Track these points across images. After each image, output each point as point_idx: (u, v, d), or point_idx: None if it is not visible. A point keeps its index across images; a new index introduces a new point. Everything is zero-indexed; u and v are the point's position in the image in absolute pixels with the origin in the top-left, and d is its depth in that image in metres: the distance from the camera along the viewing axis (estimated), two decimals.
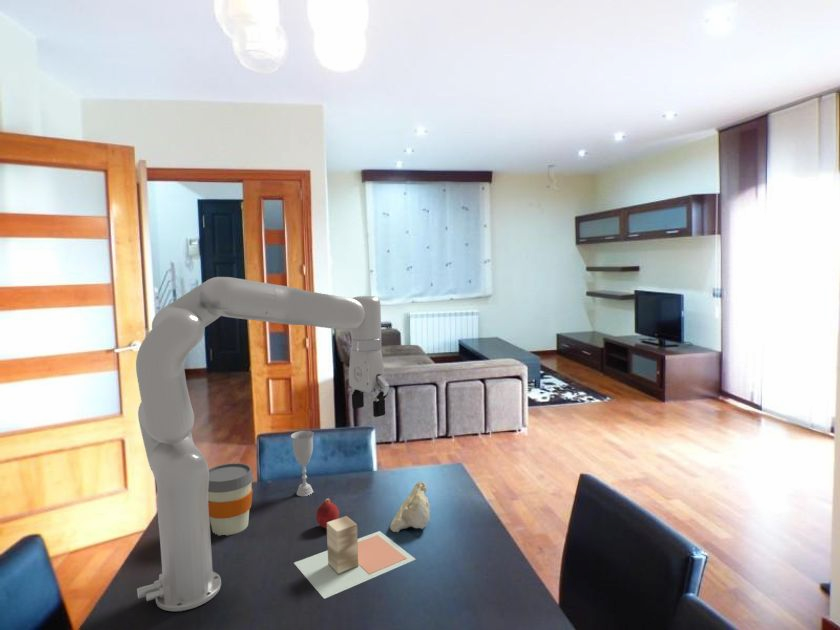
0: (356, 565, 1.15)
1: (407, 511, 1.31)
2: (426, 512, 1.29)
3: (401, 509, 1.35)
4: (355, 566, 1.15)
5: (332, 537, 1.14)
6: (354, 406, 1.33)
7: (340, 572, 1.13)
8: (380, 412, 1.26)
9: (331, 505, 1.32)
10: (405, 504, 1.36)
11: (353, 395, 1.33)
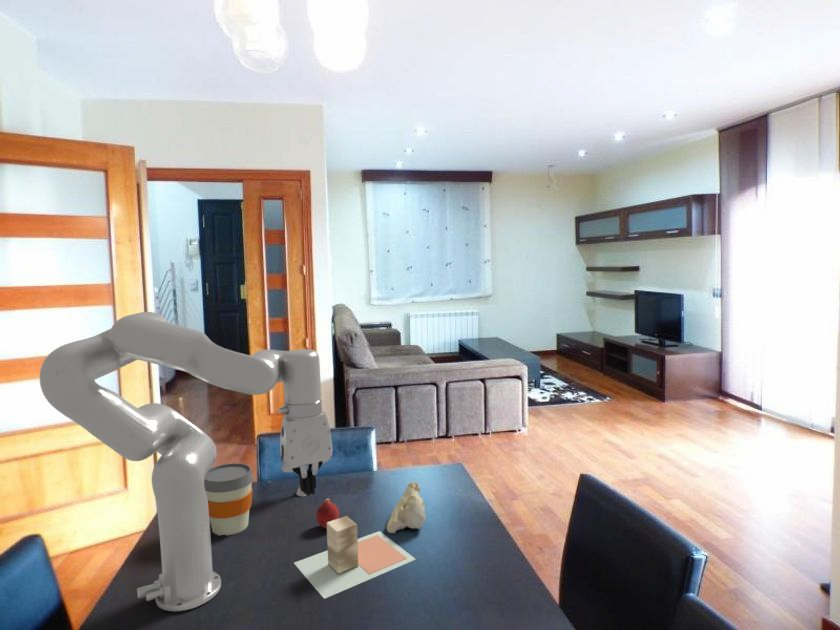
0: (356, 565, 1.15)
1: (403, 512, 1.30)
2: (423, 512, 1.30)
3: (396, 510, 1.34)
4: (355, 566, 1.15)
5: (332, 537, 1.14)
6: (310, 491, 1.08)
7: (340, 572, 1.13)
8: None
9: (331, 505, 1.32)
10: (400, 505, 1.35)
11: (308, 479, 1.08)
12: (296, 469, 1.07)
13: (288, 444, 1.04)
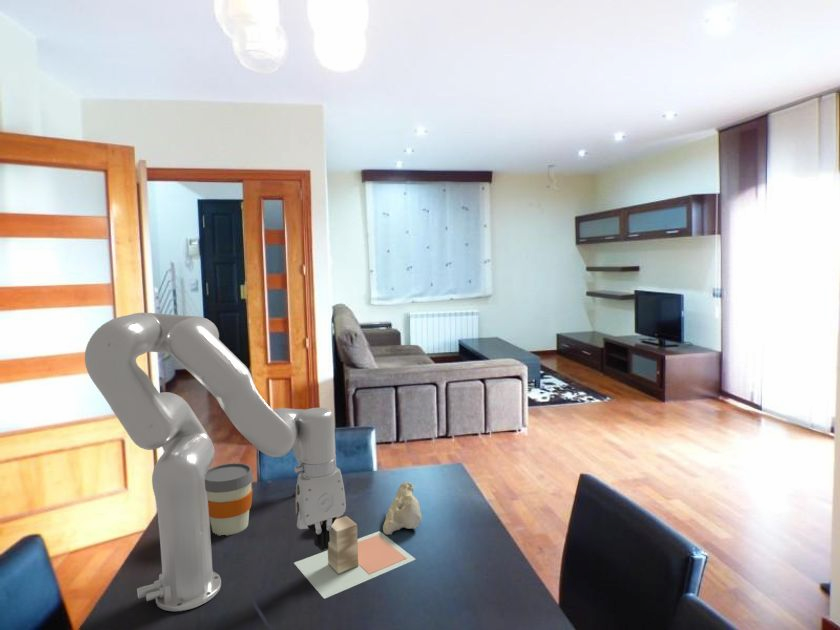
0: (356, 565, 1.15)
1: (400, 512, 1.30)
2: (419, 512, 1.30)
3: (391, 511, 1.34)
4: (355, 566, 1.15)
5: (332, 537, 1.14)
6: (324, 546, 1.11)
7: (340, 572, 1.13)
8: None
9: None
10: (395, 506, 1.35)
11: (323, 534, 1.11)
12: (311, 525, 1.10)
13: (303, 503, 1.07)
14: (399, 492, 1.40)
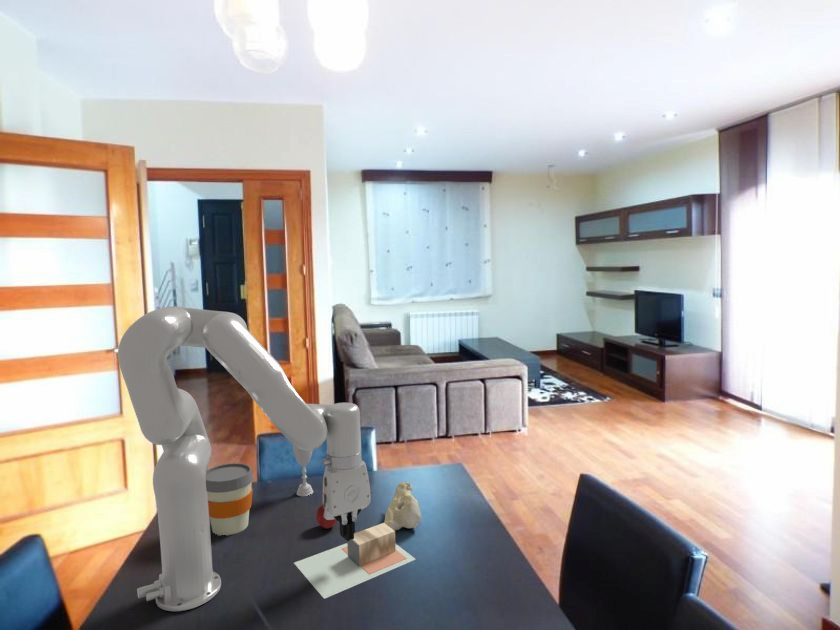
0: (360, 563, 1.16)
1: (399, 512, 1.30)
2: (419, 511, 1.30)
3: (390, 511, 1.34)
4: (359, 562, 1.16)
5: (381, 530, 1.21)
6: (349, 537, 1.15)
7: (359, 547, 1.15)
8: None
9: None
10: (394, 506, 1.35)
11: (348, 525, 1.14)
12: (337, 516, 1.13)
13: (331, 494, 1.10)
14: (397, 492, 1.40)
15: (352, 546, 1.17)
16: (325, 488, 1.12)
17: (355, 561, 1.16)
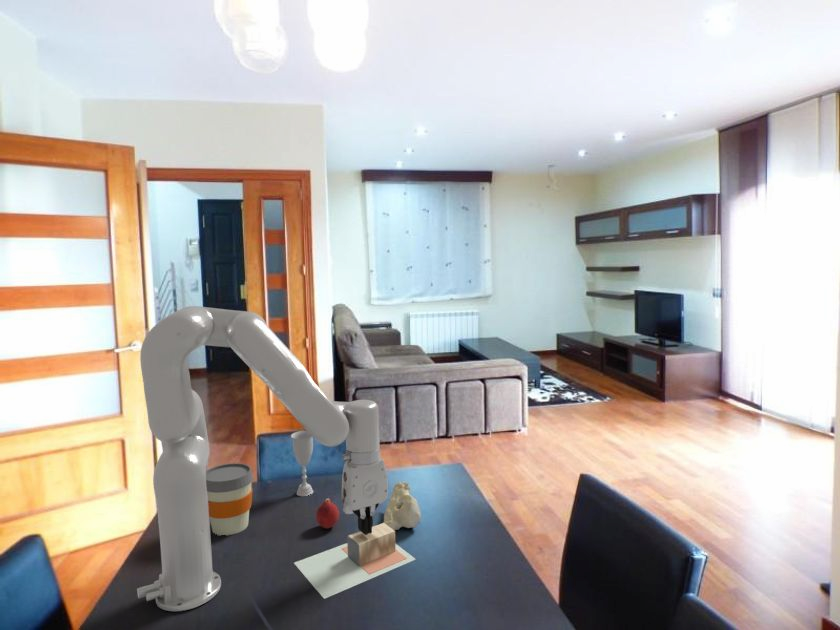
0: (360, 563, 1.16)
1: (399, 512, 1.30)
2: (419, 510, 1.30)
3: (390, 511, 1.34)
4: (359, 562, 1.16)
5: (381, 530, 1.21)
6: (367, 531, 1.18)
7: (359, 547, 1.15)
8: None
9: (331, 505, 1.32)
10: (392, 506, 1.35)
11: (367, 519, 1.17)
12: (356, 511, 1.16)
13: (351, 489, 1.13)
14: (395, 492, 1.40)
15: (352, 546, 1.17)
16: (344, 483, 1.15)
17: (355, 561, 1.16)
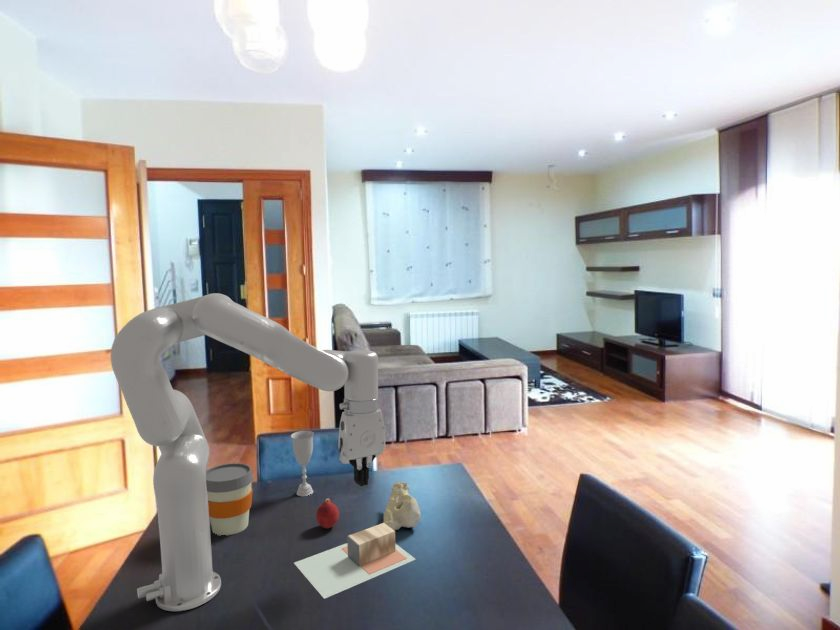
0: (360, 563, 1.16)
1: (399, 512, 1.30)
2: (419, 510, 1.31)
3: (389, 511, 1.34)
4: (359, 562, 1.16)
5: (381, 530, 1.21)
6: (363, 482, 1.16)
7: (359, 547, 1.15)
8: None
9: (331, 505, 1.32)
10: (392, 506, 1.35)
11: (363, 470, 1.16)
12: (352, 461, 1.15)
13: (348, 437, 1.12)
14: (394, 492, 1.40)
15: (352, 546, 1.17)
16: (342, 432, 1.13)
17: (355, 561, 1.16)
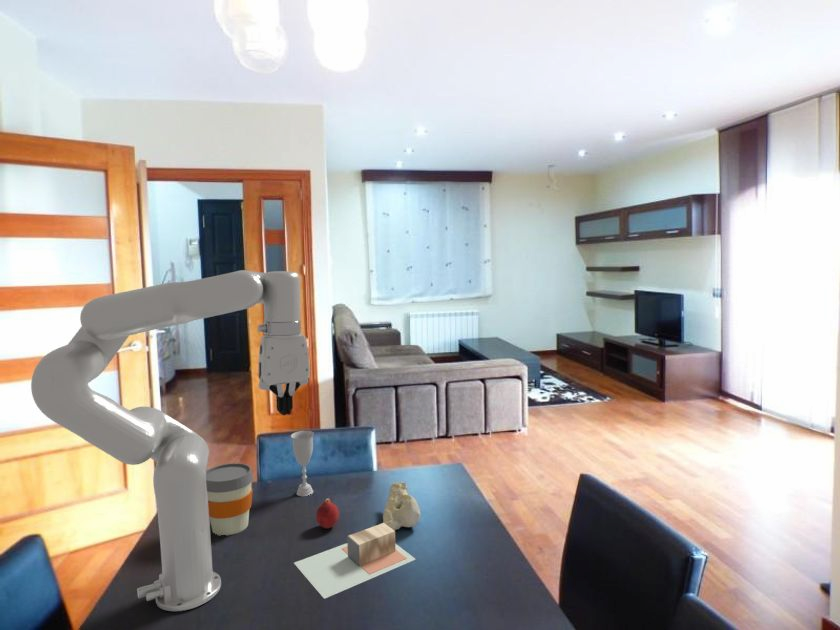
0: (360, 563, 1.16)
1: (399, 512, 1.30)
2: (419, 509, 1.31)
3: (389, 511, 1.33)
4: (359, 562, 1.16)
5: (381, 530, 1.21)
6: (286, 411, 1.10)
7: (359, 547, 1.15)
8: None
9: (331, 505, 1.32)
10: (391, 506, 1.35)
11: (285, 398, 1.10)
12: (273, 387, 1.08)
13: (265, 360, 1.05)
14: (392, 492, 1.40)
15: (352, 546, 1.17)
16: (260, 356, 1.07)
17: (355, 561, 1.16)
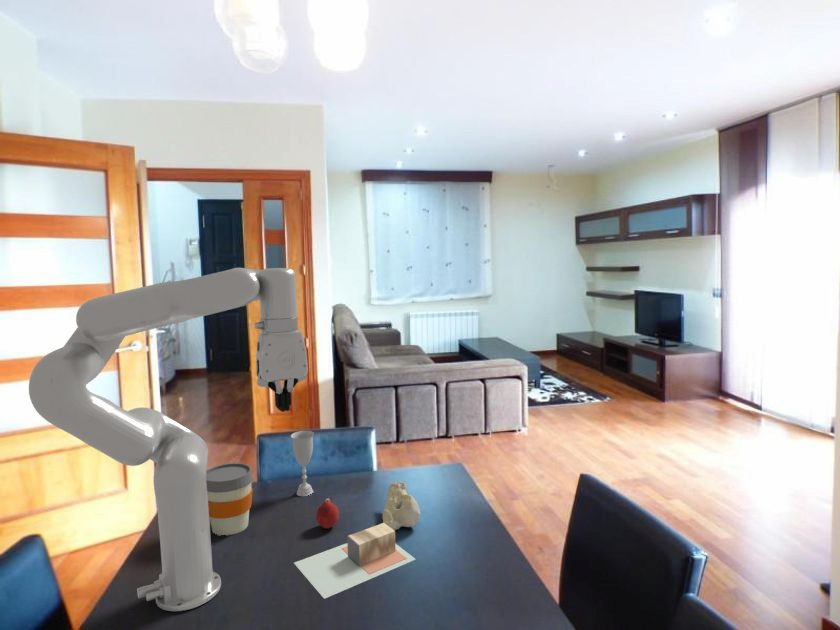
0: (360, 563, 1.16)
1: (399, 511, 1.30)
2: (419, 509, 1.31)
3: (388, 511, 1.33)
4: (359, 562, 1.16)
5: (381, 530, 1.21)
6: (285, 408, 1.10)
7: (359, 547, 1.15)
8: None
9: (331, 505, 1.32)
10: (391, 506, 1.35)
11: (284, 395, 1.10)
12: (271, 384, 1.09)
13: (263, 357, 1.06)
14: (391, 492, 1.40)
15: (352, 546, 1.17)
16: (258, 353, 1.07)
17: (355, 561, 1.16)
